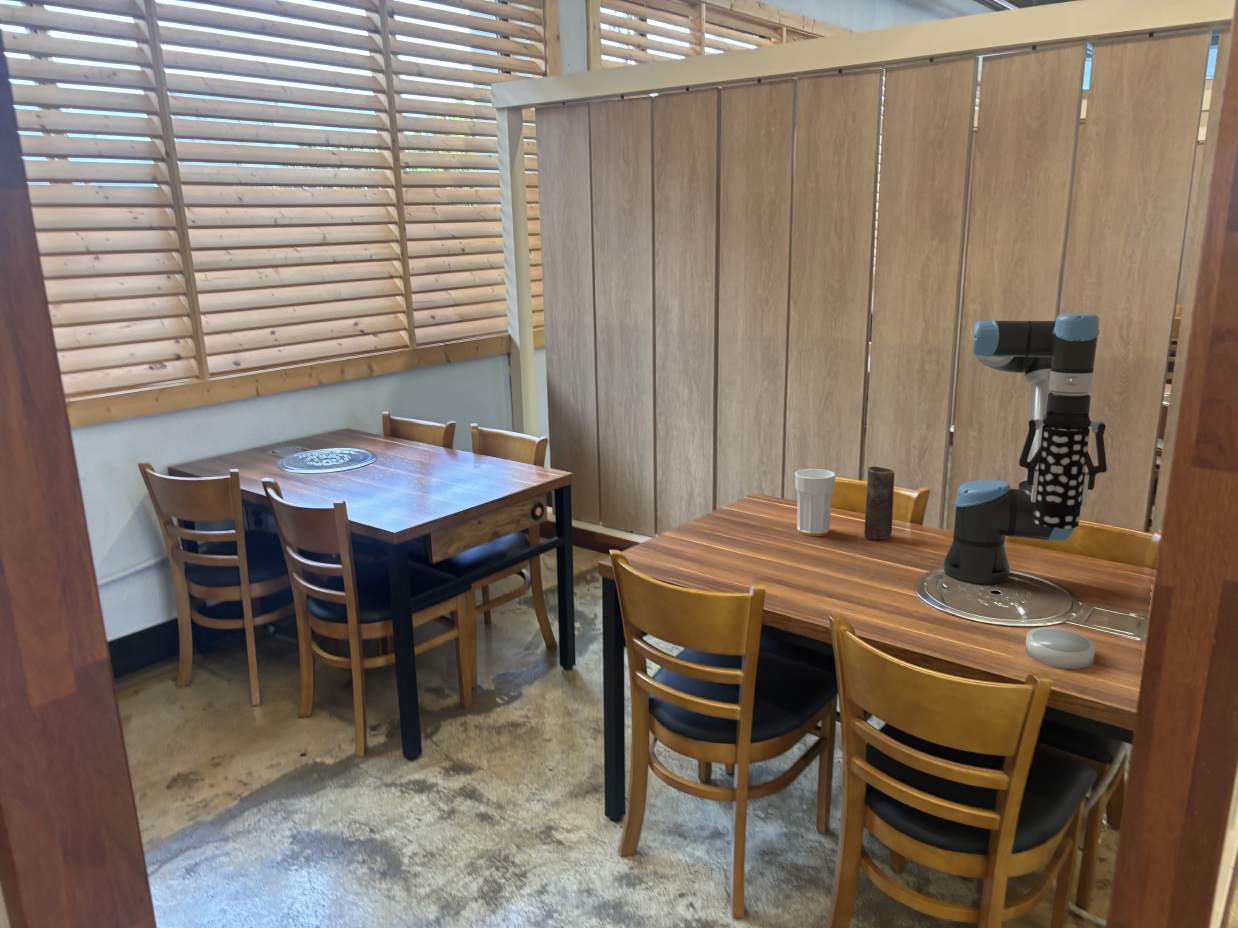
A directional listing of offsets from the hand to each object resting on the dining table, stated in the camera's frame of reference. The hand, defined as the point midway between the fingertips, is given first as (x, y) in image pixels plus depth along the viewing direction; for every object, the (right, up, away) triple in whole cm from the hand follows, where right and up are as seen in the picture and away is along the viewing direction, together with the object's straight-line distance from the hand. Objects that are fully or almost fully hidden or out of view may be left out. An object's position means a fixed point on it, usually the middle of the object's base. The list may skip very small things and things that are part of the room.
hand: (1057, 502), depth 169 cm
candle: (-17, -13, +65) cm, 68 cm away
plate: (-3, -30, -6) cm, 31 cm away
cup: (-33, -12, +71) cm, 79 cm away
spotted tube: (0, -4, +1) cm, 5 cm away
